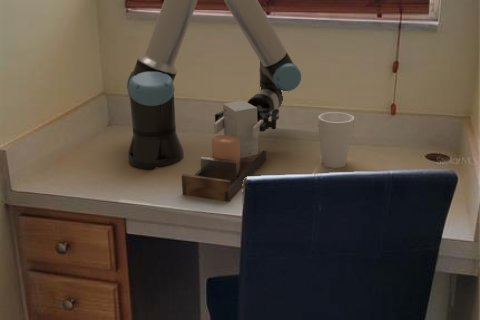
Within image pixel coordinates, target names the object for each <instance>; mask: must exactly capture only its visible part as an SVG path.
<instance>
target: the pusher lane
mask: <svg viewBox="0 0 480 320" xmlns="http://www.w3.org/2000/svg"><path fill="white" fill-rule="evenodd" d="M266 161H267V151H266V150H262V151H261V152H260V153H258V154H257V155H256V157H253V156H248V157H244V158H240V176H239V177H238V178H237V179H236V180H235V181H234V182H233V183H232V185H231V181H230V180H223V179H216V178H209V177H202V176H201V168H200V169H199V170H198V171H197V172H195V174H193V175H192V174H185V173H183V174H181V188H182V191H181V192H182V196H188V197H193V198H200V199H201V198H202V199H207V200H213V201H222V202H226V203H230V202H231V201H232V200H233V199H234V197H235V196H236V195H237V194H238V193H239V192H240V190H242V188H243V187H242V184H243V180H244V178H245V177H247V176H252V177H253V176H254V175H255V173H256V172H257V171H258V170H259V169H260V168H261V166H263V165H264V163H265V162H266Z"/></svg>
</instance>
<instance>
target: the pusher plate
mask: <svg viewBox="0 0 480 320" xmlns="http://www.w3.org/2000/svg"><path fill="white" fill-rule="evenodd" d="M200 169H201V176H202V177H209V178H216V179H223V180H230V181H231V185H232V183H233V182H234V181H235V180H236V179H237V178H238V177H239V167H238V161H234V160H226V159H218V158H212V157H207V156H202V157H200Z"/></svg>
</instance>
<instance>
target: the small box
mask: <svg viewBox="0 0 480 320" xmlns="http://www.w3.org/2000/svg"><path fill="white" fill-rule="evenodd" d="M247 102H248V101H246V100H239V101H232V102H224V103H223V104H222V108H223V109H222V111H223V116H224V128H223V135H233V136H237V137H239V138H240V158H244V157H253V156H258V155H259V140H258V139H259V138H258V136H259V135H258V136H257V137H256V138H253V127H254V126H255V125H256V124H257V123H258V122H257V107H255V106H253V105H251V104H249V103H247Z"/></svg>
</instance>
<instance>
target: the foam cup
mask: <svg viewBox="0 0 480 320" xmlns="http://www.w3.org/2000/svg"><path fill="white" fill-rule="evenodd" d="M354 124H355V116H354V115H352V114H350V113H347V112H340V111H327V112H323V113H320V114H319V115H318V116H317V127H318V135H319V144H320V154H321V162H322V164H323V165H322V166H325V167H328V168H333V169H334V168H336V169H337V168H338V169H339V168H342V167H344V166H346V163H347V159H348V154H349V148H350V144H351V138H352V135H353V129H354Z"/></svg>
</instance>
